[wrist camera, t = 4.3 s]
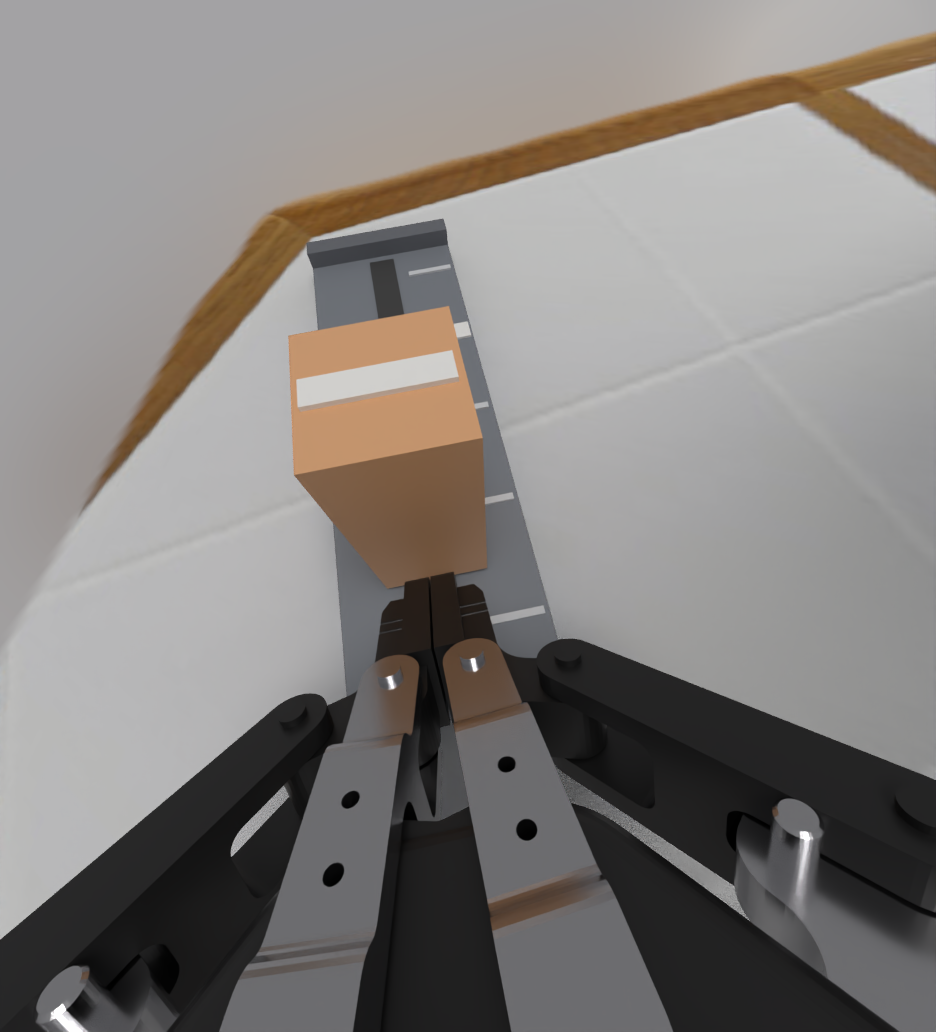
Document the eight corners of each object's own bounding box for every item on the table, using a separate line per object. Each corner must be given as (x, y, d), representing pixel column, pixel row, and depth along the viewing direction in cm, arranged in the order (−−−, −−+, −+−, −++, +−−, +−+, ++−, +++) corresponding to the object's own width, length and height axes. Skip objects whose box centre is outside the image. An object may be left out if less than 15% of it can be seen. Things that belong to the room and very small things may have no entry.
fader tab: (376, 499, 19) (285, 330, 11) (467, 481, 19) (448, 300, 11) (387, 588, 17) (290, 471, 9) (487, 568, 18) (482, 433, 9)
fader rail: (321, 280, 28) (306, 242, 25) (447, 257, 28) (443, 218, 26) (361, 737, 17) (342, 740, 15) (565, 692, 17) (576, 689, 15)
